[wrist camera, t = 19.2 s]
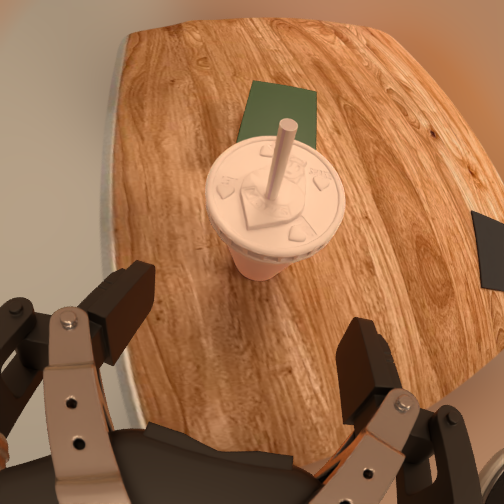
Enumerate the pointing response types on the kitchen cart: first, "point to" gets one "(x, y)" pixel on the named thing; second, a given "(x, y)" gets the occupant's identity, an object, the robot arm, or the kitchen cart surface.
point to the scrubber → (279, 112)
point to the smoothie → (273, 201)
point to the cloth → (490, 250)
